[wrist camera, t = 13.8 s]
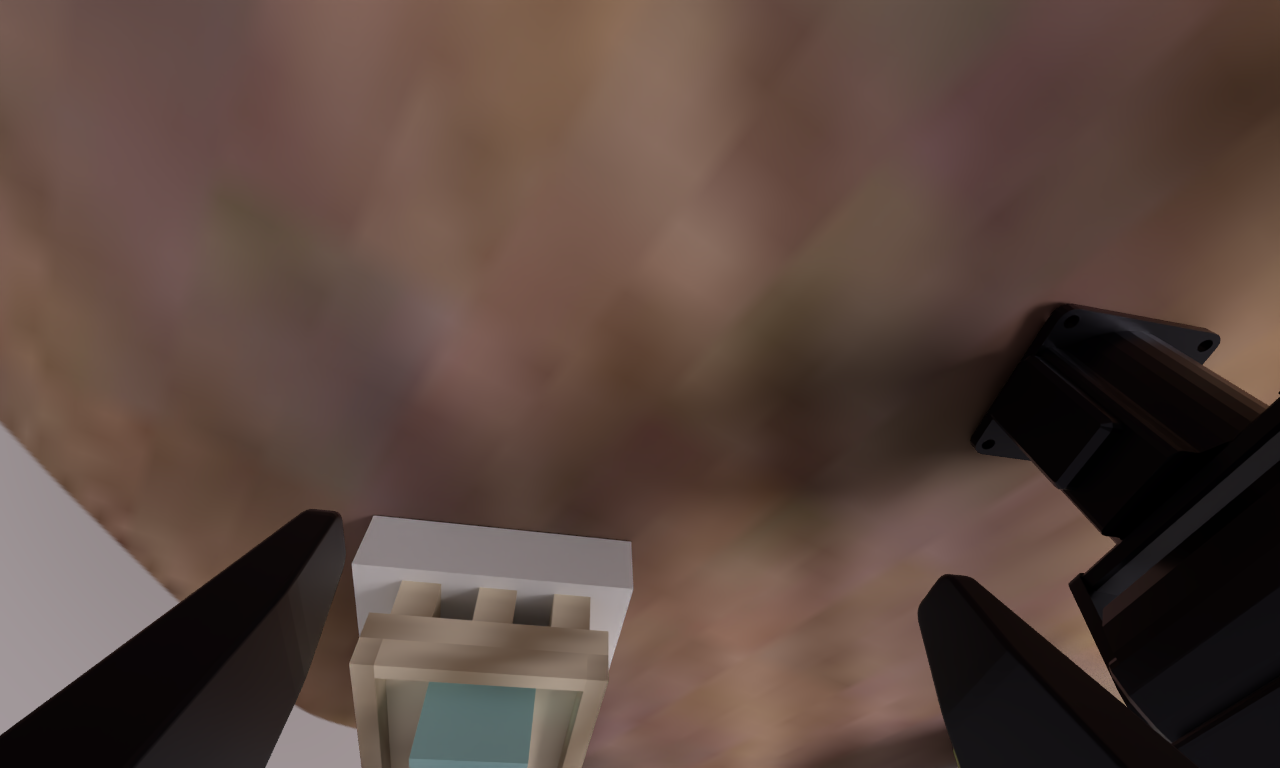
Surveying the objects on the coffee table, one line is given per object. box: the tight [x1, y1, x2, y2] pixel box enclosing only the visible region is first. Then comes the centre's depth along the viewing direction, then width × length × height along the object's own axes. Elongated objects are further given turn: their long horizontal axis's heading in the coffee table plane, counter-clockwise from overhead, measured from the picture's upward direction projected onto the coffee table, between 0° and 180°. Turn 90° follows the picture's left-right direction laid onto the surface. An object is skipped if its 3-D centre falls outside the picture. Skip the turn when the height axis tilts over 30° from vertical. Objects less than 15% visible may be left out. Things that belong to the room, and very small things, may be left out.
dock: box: [352, 516, 633, 668], centre depth 28 cm, size 11×15×2 cm
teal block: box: [409, 682, 536, 768], centre depth 22 cm, size 4×3×3 cm
